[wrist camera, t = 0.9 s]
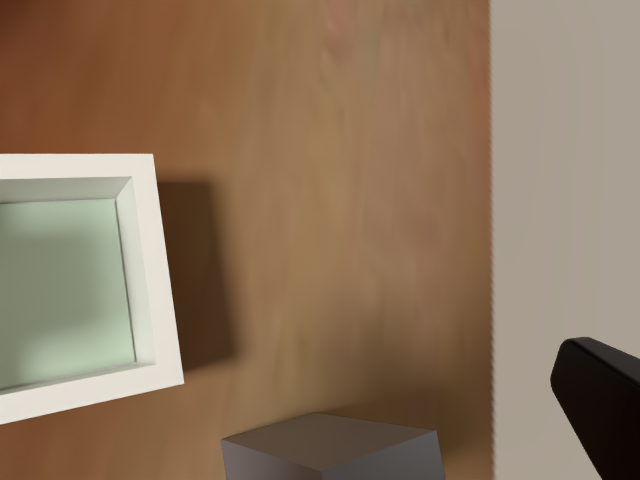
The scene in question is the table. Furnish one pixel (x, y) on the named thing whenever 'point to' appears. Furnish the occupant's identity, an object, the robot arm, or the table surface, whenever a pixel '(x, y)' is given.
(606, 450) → the robot arm
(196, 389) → the table surface
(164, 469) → the table surface
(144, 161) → the dock
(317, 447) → the grey rectangular block
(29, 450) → the table surface
